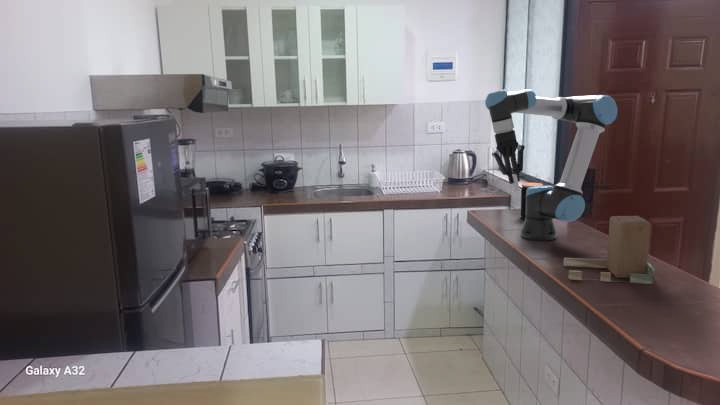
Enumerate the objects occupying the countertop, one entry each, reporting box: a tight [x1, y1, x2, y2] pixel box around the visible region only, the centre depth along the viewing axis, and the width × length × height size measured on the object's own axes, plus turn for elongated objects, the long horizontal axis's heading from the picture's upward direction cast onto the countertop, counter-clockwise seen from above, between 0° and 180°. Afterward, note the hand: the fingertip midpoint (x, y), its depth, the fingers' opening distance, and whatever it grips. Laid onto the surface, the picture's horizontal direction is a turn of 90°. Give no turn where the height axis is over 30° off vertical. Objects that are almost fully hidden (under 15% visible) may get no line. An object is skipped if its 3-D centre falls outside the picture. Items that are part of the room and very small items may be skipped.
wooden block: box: [606, 215, 651, 279], centre depth 168 cm, size 10×10×20 cm
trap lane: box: [563, 257, 656, 285], centre depth 171 cm, size 15×26×5 cm, turn 74°
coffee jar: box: [520, 182, 544, 220], centre depth 252 cm, size 11×11×18 cm
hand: (516, 190), depth 189 cm, fingers closed
